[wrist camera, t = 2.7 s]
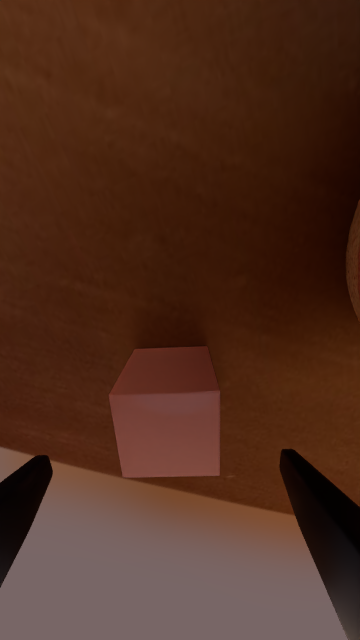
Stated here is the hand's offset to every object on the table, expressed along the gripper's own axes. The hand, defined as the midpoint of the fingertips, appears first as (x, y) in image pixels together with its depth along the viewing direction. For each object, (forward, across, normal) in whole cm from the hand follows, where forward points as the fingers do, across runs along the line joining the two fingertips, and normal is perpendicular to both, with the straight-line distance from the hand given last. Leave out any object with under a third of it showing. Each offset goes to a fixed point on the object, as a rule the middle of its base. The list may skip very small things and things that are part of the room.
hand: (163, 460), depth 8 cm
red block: (+5, 0, 0) cm, 5 cm away
